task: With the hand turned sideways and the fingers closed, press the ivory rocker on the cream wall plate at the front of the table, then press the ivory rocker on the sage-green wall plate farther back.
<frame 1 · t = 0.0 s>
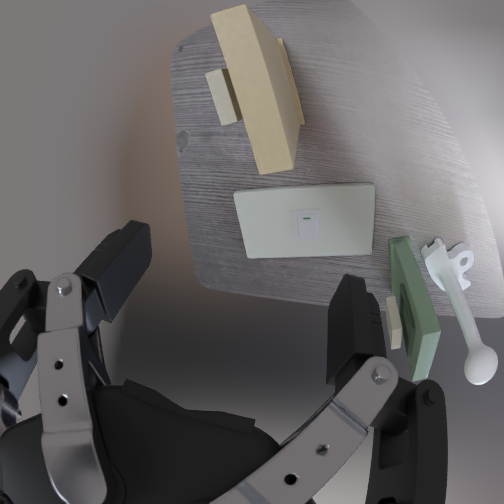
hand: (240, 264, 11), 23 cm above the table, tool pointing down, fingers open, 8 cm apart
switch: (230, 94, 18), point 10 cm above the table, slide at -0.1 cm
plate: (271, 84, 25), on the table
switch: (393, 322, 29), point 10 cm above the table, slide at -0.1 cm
light switch: (307, 220, 34), on the table
joystick: (449, 258, 33), on the table
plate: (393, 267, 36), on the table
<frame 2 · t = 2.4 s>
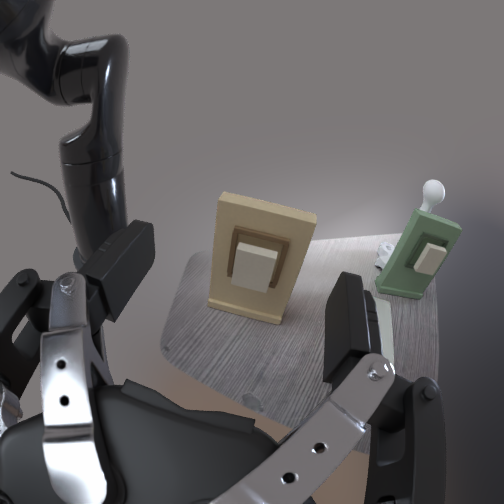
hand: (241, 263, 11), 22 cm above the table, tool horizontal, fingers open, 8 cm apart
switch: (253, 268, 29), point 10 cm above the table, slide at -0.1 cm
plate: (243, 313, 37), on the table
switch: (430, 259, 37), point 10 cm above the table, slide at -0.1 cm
light switch: (361, 338, 36), on the table
joystick: (389, 262, 52), on the table
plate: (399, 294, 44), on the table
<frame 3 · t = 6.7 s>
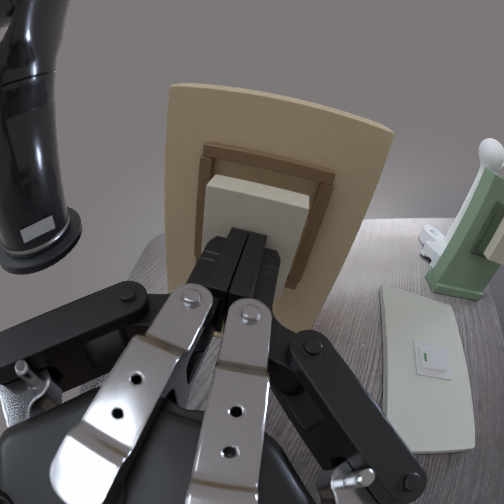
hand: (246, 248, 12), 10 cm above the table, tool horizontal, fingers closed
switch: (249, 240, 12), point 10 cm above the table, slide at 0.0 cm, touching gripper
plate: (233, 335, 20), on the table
light switch: (426, 366, 19), on the table
joystick: (434, 251, 35), on the table
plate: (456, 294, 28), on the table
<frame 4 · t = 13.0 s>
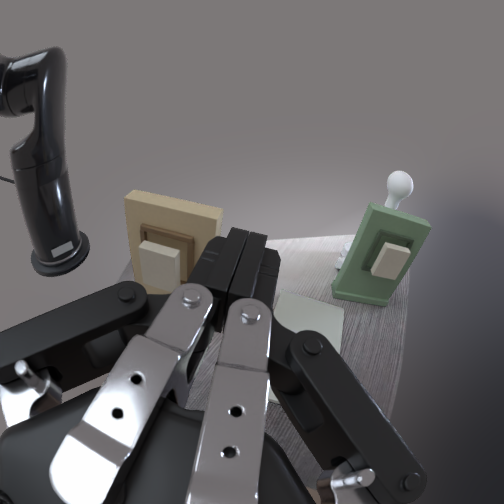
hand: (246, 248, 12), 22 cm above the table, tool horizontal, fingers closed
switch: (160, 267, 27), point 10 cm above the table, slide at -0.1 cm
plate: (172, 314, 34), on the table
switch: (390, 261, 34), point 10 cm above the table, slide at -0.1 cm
light switch: (301, 348, 33), on the table
joystick: (355, 264, 50), on the table
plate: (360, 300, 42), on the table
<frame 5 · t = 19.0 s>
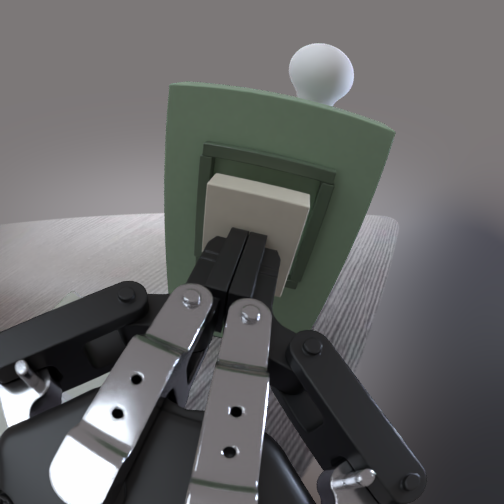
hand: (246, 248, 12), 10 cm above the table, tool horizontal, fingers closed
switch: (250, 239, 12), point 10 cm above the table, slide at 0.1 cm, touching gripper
light switch: (49, 407, 12), on the table
joystick: (264, 260, 27), on the table
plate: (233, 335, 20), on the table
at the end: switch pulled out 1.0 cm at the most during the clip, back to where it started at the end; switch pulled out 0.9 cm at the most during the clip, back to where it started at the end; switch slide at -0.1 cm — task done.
